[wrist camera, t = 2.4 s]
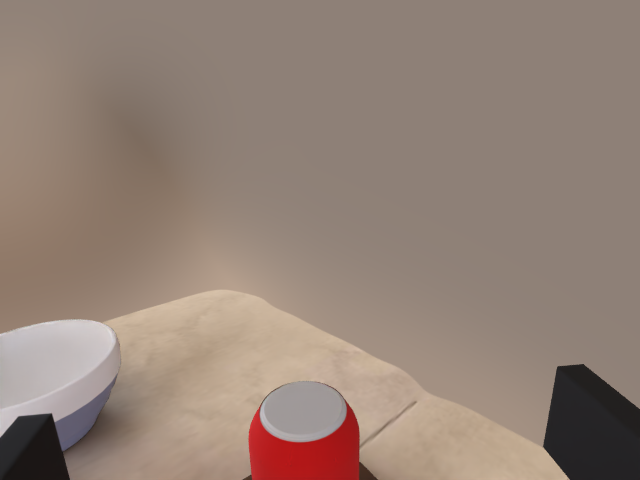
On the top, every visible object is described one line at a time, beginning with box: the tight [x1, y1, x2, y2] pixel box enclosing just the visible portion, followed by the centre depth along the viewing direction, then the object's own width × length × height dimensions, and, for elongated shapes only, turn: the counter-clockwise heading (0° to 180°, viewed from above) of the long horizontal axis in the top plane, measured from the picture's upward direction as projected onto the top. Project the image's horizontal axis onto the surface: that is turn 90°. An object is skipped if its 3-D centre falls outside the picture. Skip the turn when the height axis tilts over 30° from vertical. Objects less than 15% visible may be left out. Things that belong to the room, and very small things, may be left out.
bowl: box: [0, 319, 121, 451], centre depth 36 cm, size 14×14×8 cm
